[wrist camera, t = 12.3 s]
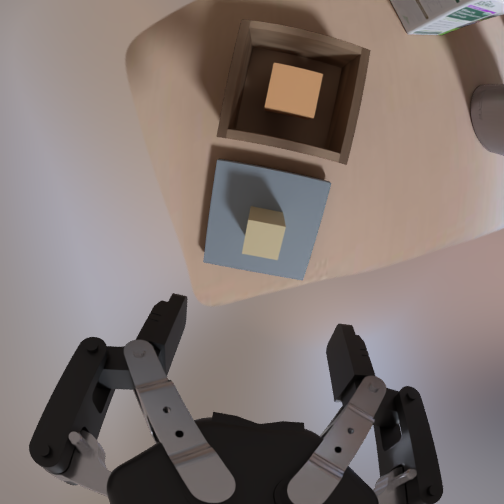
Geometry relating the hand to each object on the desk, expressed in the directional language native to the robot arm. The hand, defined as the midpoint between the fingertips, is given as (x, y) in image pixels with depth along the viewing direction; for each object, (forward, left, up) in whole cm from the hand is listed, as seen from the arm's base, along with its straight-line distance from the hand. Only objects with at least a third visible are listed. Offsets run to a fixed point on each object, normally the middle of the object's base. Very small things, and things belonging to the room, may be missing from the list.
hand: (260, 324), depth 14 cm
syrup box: (-12, -29, -16) cm, 35 cm away
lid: (0, 0, -16) cm, 16 cm away
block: (0, -13, -16) cm, 20 cm away
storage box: (0, -13, -16) cm, 21 cm away
